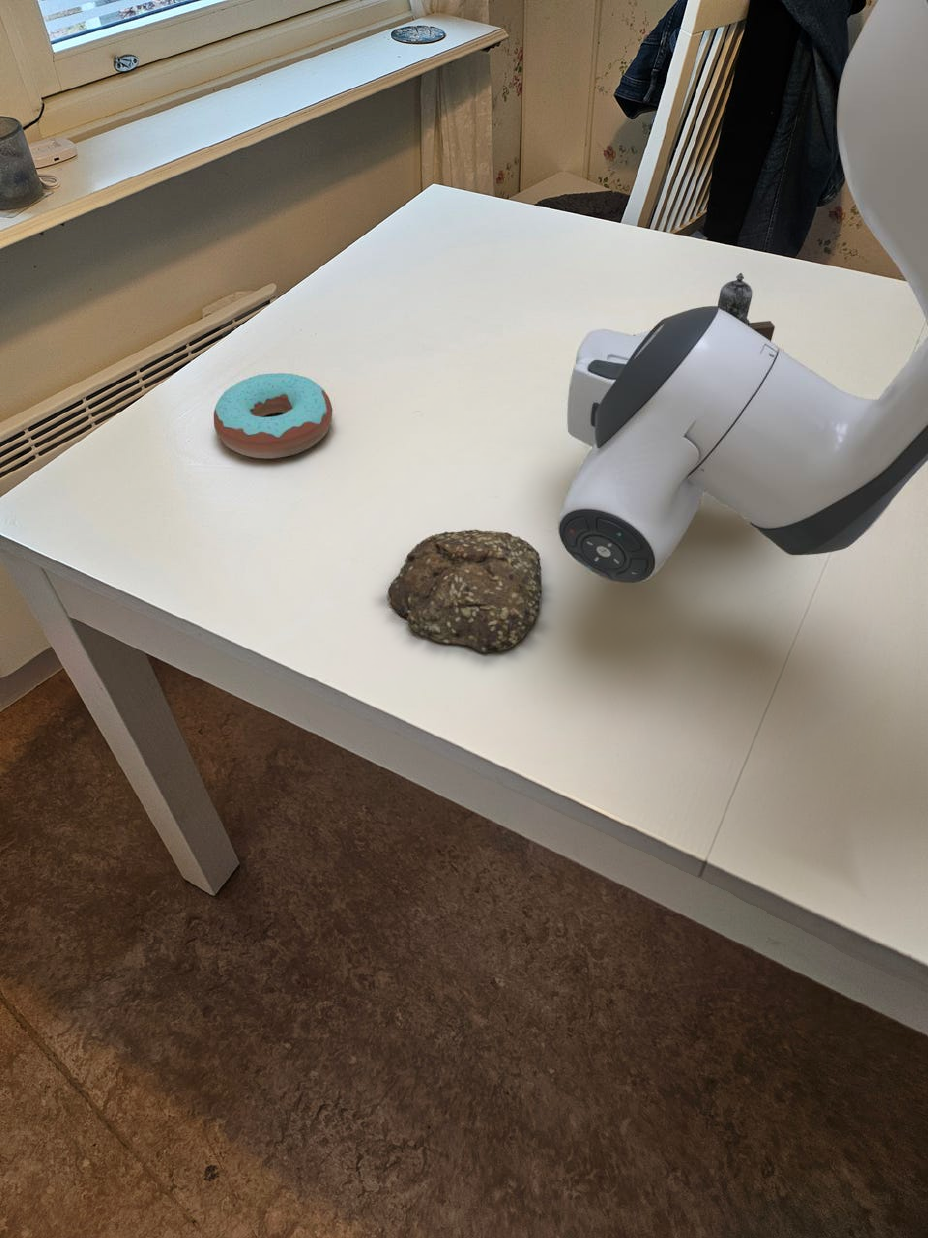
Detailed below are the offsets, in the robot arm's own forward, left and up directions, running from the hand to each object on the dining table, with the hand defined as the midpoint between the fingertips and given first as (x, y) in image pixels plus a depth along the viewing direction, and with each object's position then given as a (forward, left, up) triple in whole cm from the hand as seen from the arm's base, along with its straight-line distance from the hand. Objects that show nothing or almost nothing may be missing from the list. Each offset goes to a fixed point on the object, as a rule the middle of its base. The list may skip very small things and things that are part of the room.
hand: (718, 342), depth 76 cm
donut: (+40, -13, -13) cm, 44 cm away
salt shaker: (-3, -4, -8) cm, 10 cm away
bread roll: (+25, +14, -13) cm, 31 cm away
